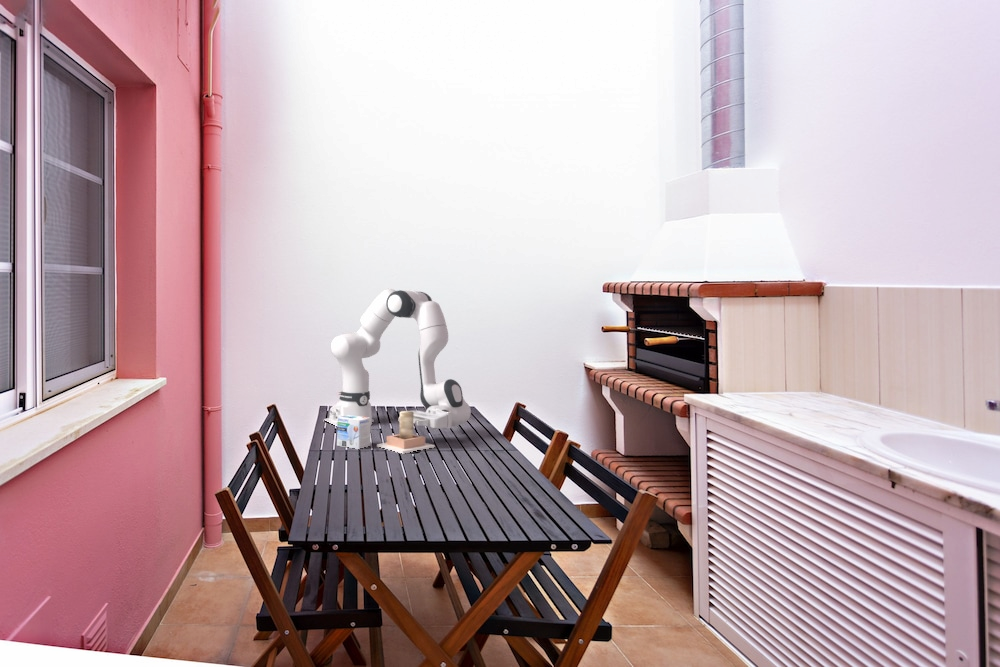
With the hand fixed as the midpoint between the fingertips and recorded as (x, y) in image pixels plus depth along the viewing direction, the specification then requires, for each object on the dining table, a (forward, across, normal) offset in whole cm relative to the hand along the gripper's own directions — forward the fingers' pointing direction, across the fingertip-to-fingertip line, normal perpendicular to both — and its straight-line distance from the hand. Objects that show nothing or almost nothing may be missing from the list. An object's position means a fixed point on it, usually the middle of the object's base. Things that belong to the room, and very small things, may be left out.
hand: (407, 421), depth 261 cm
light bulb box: (+14, -14, +10) cm, 22 cm away
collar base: (+1, 0, +10) cm, 10 cm away
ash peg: (+1, 0, +8) cm, 9 cm away
